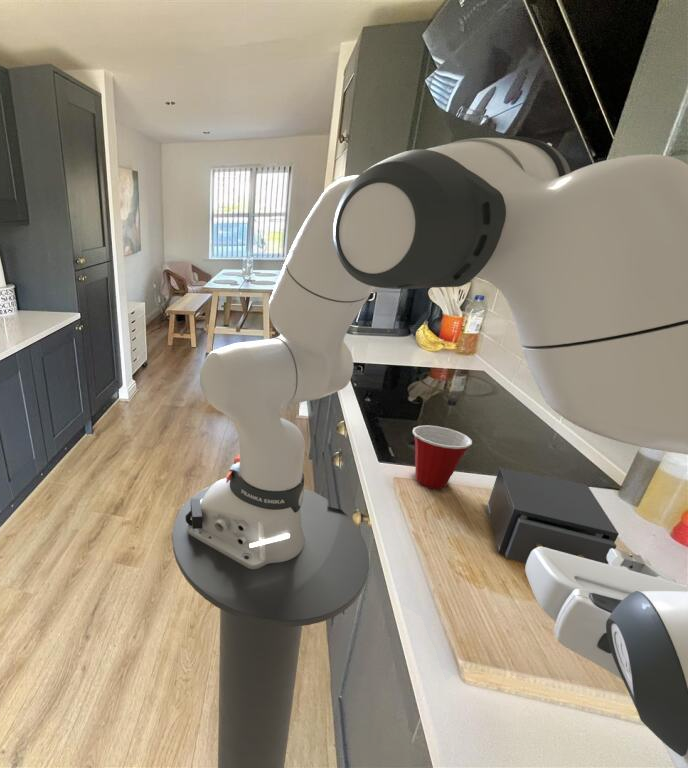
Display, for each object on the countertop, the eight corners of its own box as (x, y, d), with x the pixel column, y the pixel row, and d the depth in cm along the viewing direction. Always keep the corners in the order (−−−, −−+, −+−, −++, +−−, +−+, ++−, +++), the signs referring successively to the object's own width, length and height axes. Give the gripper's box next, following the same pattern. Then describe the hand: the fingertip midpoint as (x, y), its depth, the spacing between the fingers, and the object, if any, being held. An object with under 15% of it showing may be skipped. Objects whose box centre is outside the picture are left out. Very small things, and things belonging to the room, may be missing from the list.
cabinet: (595, 580, 64) (619, 533, 60) (498, 553, 69) (514, 508, 66) (569, 527, 75) (587, 484, 71) (486, 507, 80) (499, 467, 77)
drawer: (607, 604, 59) (628, 564, 56) (510, 575, 64) (525, 537, 61) (571, 533, 72) (587, 498, 69) (494, 513, 77) (505, 480, 74)
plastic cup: (454, 472, 91) (466, 426, 87) (463, 500, 82) (478, 451, 78) (401, 463, 96) (410, 419, 91) (404, 488, 87) (415, 441, 82)
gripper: (908, 700, 30) (775, 569, 41) (557, 592, 40) (525, 509, 51) (856, 747, 33) (743, 611, 44) (537, 635, 42) (511, 547, 53)
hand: (624, 556), depth 47 cm, fingers closed
